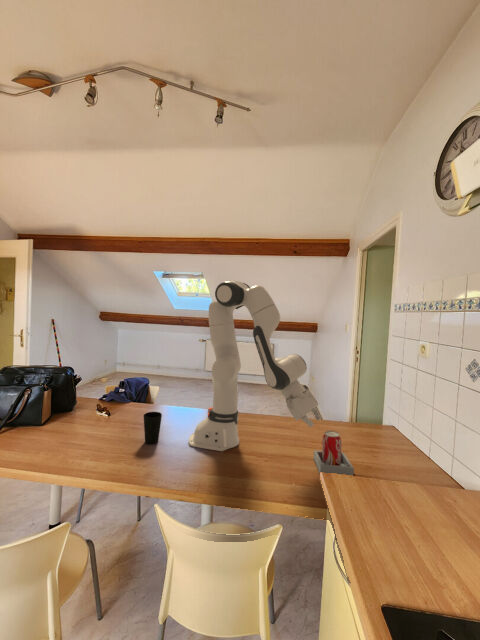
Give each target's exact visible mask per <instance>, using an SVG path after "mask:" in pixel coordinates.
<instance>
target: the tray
mask: <svg viewBox="0 0 480 640" xmlns="http://www.w3.org/2000/svg"><path fill="white" fill-rule="evenodd" d="M313 461H314V463H315V466H316V468H317V471H318V474H319V473H320V472H324V473H337V474H346V475H353V476H354V471H355V470H354V469H355V468H354V466H353V464H352V463H351V461H350V460H349V458H348V457H347V455H346V454H345V451H344V452H342V451H341V464H340V465H339V466H337V465H326V464H324V463H323V458H322V450H317V449H316V450H313Z"/></svg>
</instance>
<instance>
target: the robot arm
mask: <svg viewBox="0 0 480 640" xmlns="http://www.w3.org/2000/svg"><path fill="white" fill-rule="evenodd" d="M214 296H215V300H213V301H212V302H210V303H209V306H208V325H209V326H208V328H209V333H210V334H209V335H210V342H211V345H212V348H213V352H214V355H215V361H214V362H213V364H212V366H211V377H212V378H211V379H212V380H211V381H212V390H213V391H212V392H213V394H212V396H213V397H212V406H211V407H209V408H208V410H207V417H206V418H205V419H204V420H201V422H199V423H198V424H197V425H196V427H195V430H194V432H193V433H191V434H190V436H189V438H188V445H189V446H190V447H194V448H198V449H199V448H200V449H206V450H212V451H217V452H218V451H219V452H224V451H226V450H228V449H232V448H235V447H237V446H238V445H239V444H240V438H239V432H238V423H239V410H238V406H239V405H238V402H239V401H238V400H239V391H238V390H239V389H238V375H239V372H240V371H241V368H242V364H241V363H242V362H241V358H240V354H239V353H240V352H239V347H238V343H237V337H236V331H235V322H234V314H233V313H234V311H235V310H238V309H240V308H242V307H246V309H247V311H248V312H249V314H250V316H251V319H252V321H253V327H254V328H253V329H252V330H253V331H252V336H253V340H254V344H255V347H256V349H257V353H258V357H259V359H260V363H261V365H262V368H263V373H264V379H265V382H266V384H267V385H268V386H269V387H270V388H272V389H274V390H277V391H280V393H281V395H282V396H283V398H284V399H285V403H286V407H287V409H288V411H289V413H290V415H291V416H292V417H293V419H294V420H295V421H300V420H301V421H302V422H304V423H306V425H307V426H308V427H309V428H311V427H313V426H314V425H315V423H314V422H313V421H312V420H311V419H310V418H308V415H307V414H309V413H310V412H311V413H312V414H313V415H314V419H316V421H320V419H322V416H321V415H320V413H319V410H318V408H317V407H318V406H319V403H318V401H317V399H316V397H315V396H314V395H313V393H312V391H310V390H309V386H308V385H307V384H303V383H301V382H300V381H299V380H298V379H299V378H301V377H303V376H304V375H305V374H306V372H307V369H308V368H307V363H306V360H304V358H303V357H302V356H301V355H299V354H296V353H292V354H290V355H287V356H284V357H276V356H275V354H274V352H273V349H272V345H271V340H270V339H271V336H272V334H273V333H274V331H276V329H277V328H278V326H279V324H280V322H281V321H280V320H281V315H280V314H281V313H280V312H279V309H278V307H277V306H276V303H275V301H274V299H273V298H272V297H271V295H270V294H269V292H268V291H267V290H266V289H265V287H264V286H261V285H254V286H251V287H250V285H248V284H247V283H245V282H242V281H235V280H234V281H231V280H230V281H229V280H227V281H223V282H221V283H219V284H218V285H217V287H216V288H215V292H214Z"/></svg>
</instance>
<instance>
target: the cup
mask: <svg viewBox="0 0 480 640" xmlns="http://www.w3.org/2000/svg"><path fill="white" fill-rule="evenodd" d="M162 416H163V414H162V413H161V412H159V411H150V412H146V413H144V414H143V424H144V425H143V431H144V444H146V445H147V446H148V445H149V446H150V445H151V446H152V445H153V446H154V445H157V444H158V443H159V440H160V439H159V438H160V432H161V431H160V430H161V423H162V418H163V417H162Z"/></svg>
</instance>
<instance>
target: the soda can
mask: <svg viewBox="0 0 480 640" xmlns="http://www.w3.org/2000/svg"><path fill="white" fill-rule="evenodd" d="M323 433H324V434H323V436H322V443H321V444H322V449H321V451H322V458H323V463H324V464H326V465H337V466H339V465H340V464H341V452H342V438H341V435H340V433H339V432H337V431H334V430H326V431H324V432H323Z"/></svg>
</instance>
